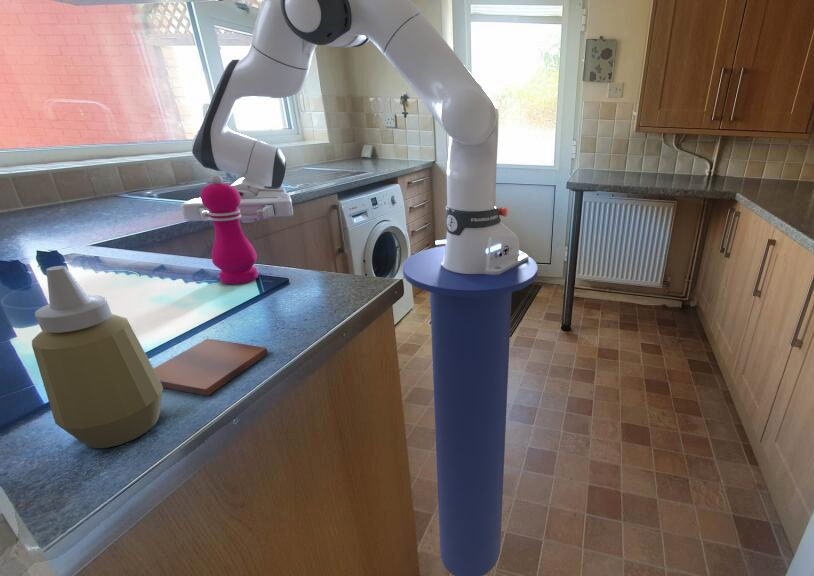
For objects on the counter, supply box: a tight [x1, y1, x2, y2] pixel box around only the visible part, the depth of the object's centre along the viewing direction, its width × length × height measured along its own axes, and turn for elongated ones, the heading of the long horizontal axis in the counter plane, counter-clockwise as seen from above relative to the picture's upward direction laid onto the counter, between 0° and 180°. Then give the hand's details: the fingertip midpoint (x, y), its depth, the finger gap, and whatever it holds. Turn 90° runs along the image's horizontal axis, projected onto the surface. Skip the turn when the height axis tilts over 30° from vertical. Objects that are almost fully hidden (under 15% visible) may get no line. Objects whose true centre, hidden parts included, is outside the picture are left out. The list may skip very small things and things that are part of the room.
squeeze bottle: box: [31, 265, 164, 449], centre depth 39 cm, size 8×8×18 cm
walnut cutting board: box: [153, 338, 269, 397], centre depth 53 cm, size 10×10×1 cm
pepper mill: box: [200, 174, 259, 285], centre depth 77 cm, size 7×7×20 cm
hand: (234, 215), depth 82 cm, fingers open, 8 cm apart
